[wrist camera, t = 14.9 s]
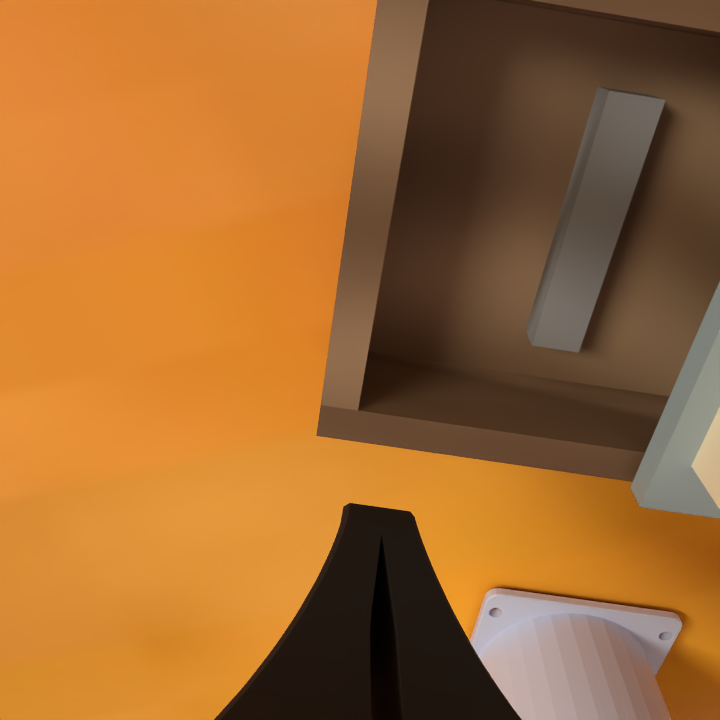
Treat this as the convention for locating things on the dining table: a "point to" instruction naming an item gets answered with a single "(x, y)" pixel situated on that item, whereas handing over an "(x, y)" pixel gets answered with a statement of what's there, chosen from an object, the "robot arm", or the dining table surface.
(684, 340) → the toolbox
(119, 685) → the dining table surface
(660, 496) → the lid
